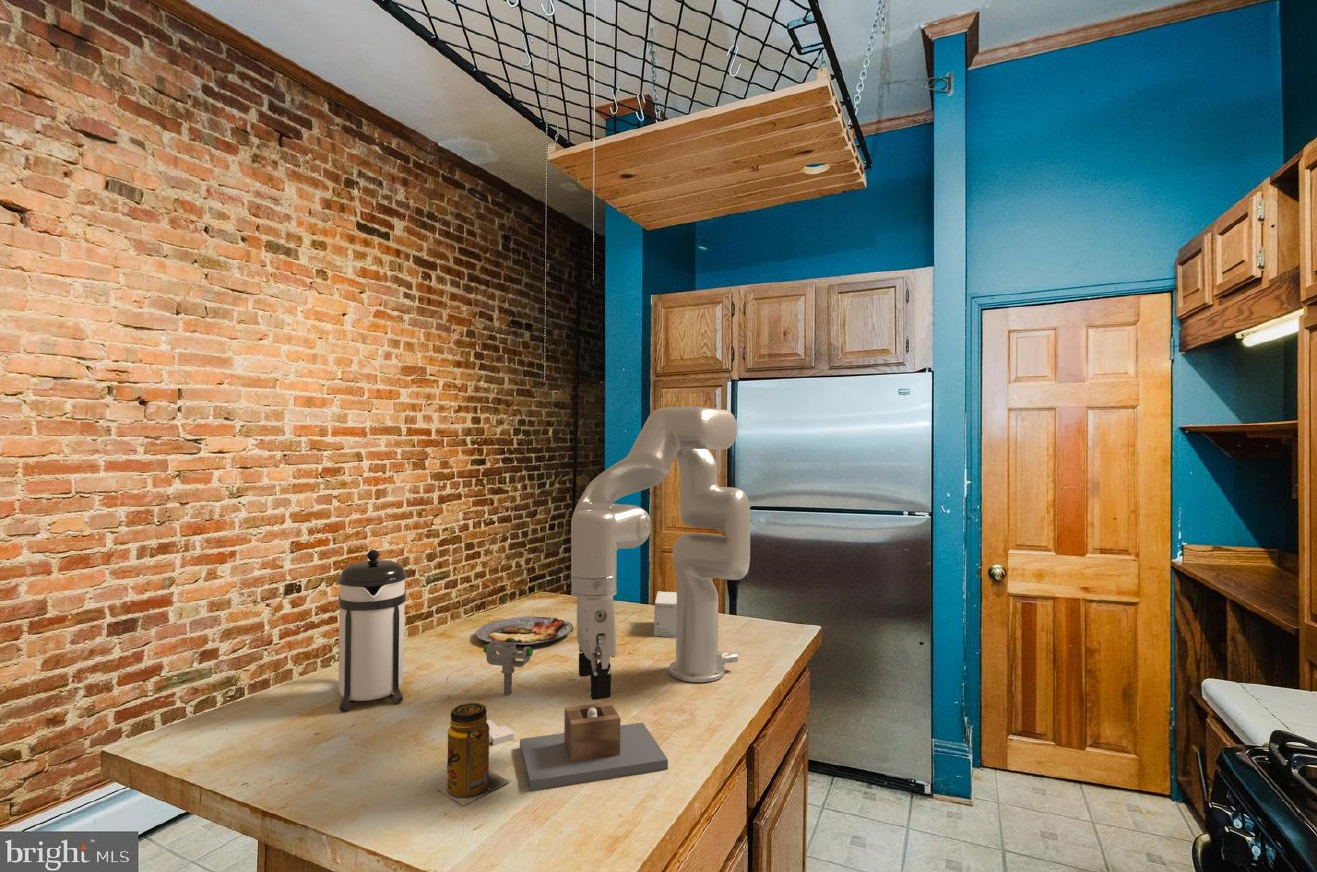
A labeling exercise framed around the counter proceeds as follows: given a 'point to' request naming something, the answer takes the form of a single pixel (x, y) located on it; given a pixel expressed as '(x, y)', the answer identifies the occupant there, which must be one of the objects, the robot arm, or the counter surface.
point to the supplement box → (665, 614)
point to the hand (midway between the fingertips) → (594, 686)
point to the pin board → (554, 767)
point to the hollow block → (591, 732)
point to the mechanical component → (507, 660)
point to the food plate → (524, 630)
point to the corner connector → (499, 733)
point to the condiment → (469, 755)
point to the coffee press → (371, 630)
